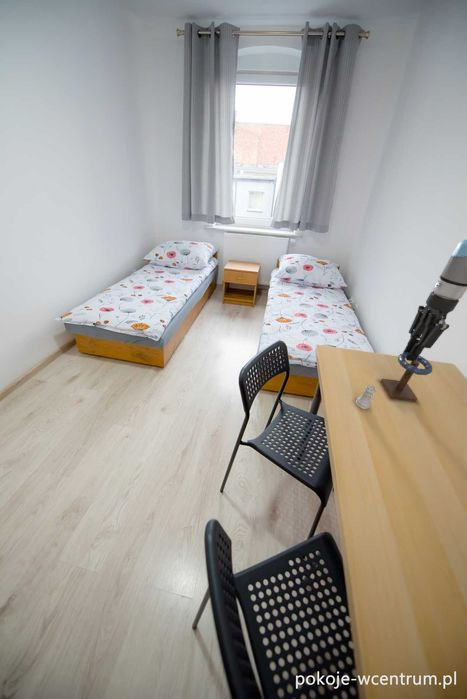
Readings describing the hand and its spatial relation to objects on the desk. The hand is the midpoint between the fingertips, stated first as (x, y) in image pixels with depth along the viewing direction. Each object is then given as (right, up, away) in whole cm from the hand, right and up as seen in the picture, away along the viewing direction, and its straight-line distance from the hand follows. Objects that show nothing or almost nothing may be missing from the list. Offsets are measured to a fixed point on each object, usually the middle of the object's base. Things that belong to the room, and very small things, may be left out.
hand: (408, 357), depth 96 cm
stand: (-2, -12, +4) cm, 13 cm away
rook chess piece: (-18, -16, -4) cm, 24 cm away
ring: (0, -2, -4) cm, 4 cm away
